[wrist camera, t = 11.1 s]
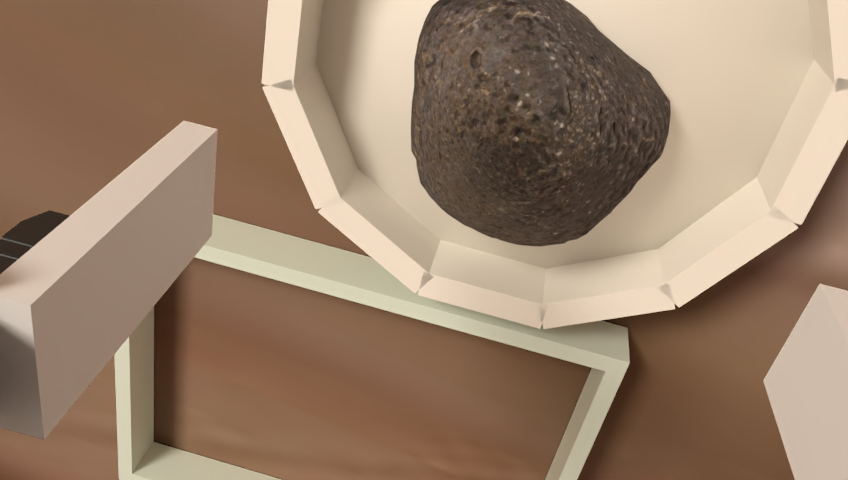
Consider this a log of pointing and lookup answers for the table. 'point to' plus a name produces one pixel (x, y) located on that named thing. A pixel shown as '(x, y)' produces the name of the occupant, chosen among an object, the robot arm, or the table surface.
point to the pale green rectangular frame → (370, 285)
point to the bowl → (637, 213)
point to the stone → (530, 118)
